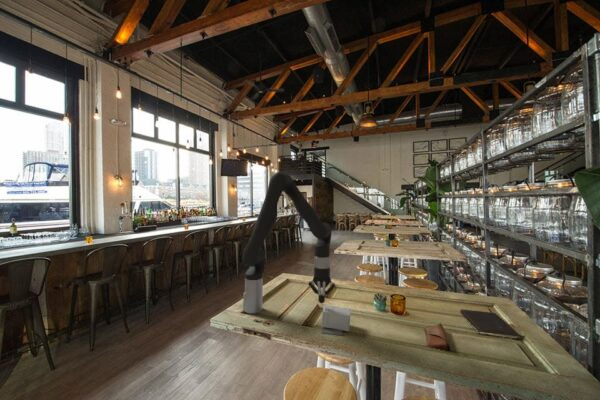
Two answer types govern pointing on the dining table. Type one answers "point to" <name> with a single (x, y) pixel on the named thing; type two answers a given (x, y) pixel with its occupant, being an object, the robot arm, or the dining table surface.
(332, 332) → the dark grey rectangular panel
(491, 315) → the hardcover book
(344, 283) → the dining table surface
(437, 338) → the sunglasses case
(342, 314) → the supplement box
